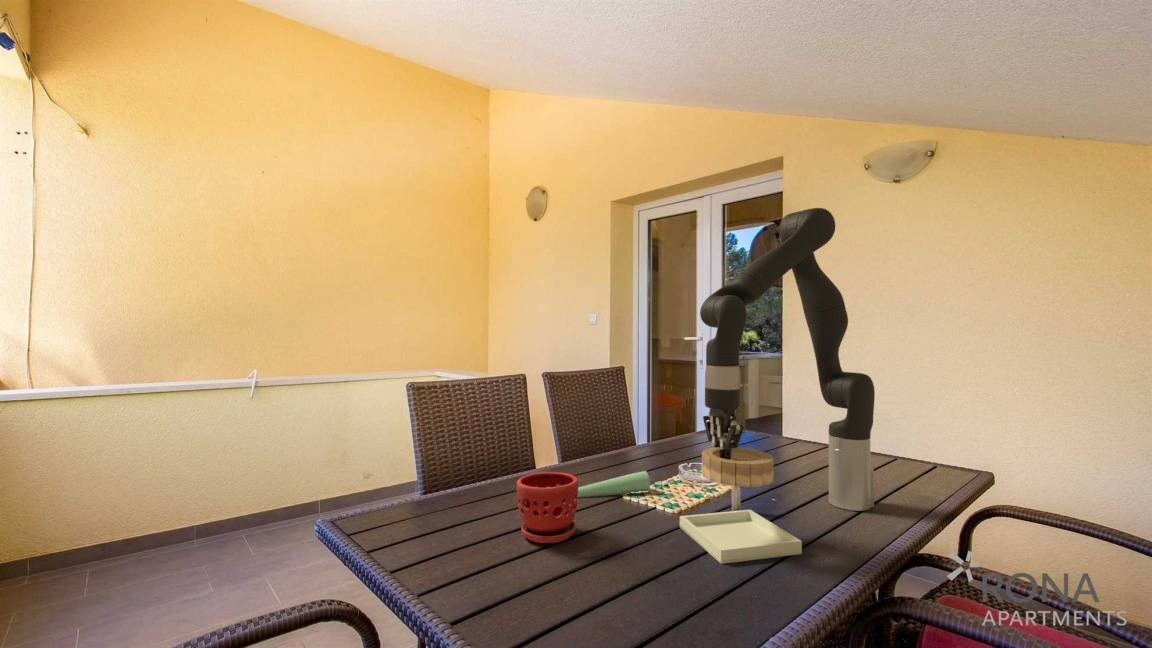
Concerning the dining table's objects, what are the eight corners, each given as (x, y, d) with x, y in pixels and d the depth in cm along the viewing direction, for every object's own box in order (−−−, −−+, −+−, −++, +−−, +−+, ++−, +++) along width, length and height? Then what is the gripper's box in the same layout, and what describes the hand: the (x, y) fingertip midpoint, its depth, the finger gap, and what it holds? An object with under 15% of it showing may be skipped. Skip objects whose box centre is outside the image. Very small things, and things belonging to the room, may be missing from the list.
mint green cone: (547, 475, 133) (642, 468, 140) (547, 496, 133) (642, 488, 140) (552, 482, 128) (650, 474, 135) (552, 503, 128) (650, 494, 135)
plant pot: (585, 527, 112) (586, 473, 112) (565, 552, 99) (565, 491, 99) (531, 519, 116) (532, 467, 116) (505, 542, 104) (506, 484, 104)
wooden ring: (747, 465, 114) (747, 445, 114) (787, 484, 100) (787, 461, 100) (690, 469, 110) (690, 448, 110) (724, 489, 97) (724, 465, 97)
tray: (749, 520, 116) (749, 509, 116) (801, 553, 99) (801, 541, 99) (679, 527, 112) (679, 516, 112) (721, 563, 95) (721, 550, 95)
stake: (740, 508, 123) (740, 471, 123) (745, 511, 121) (745, 474, 122) (726, 510, 122) (726, 473, 122) (730, 513, 120) (730, 475, 121)
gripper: (755, 389, 105) (755, 472, 105) (721, 382, 119) (721, 455, 119) (723, 390, 104) (723, 474, 104) (692, 383, 117) (691, 457, 117)
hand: (722, 464), depth 111 cm, fingers closed on wooden ring, 2 cm apart
